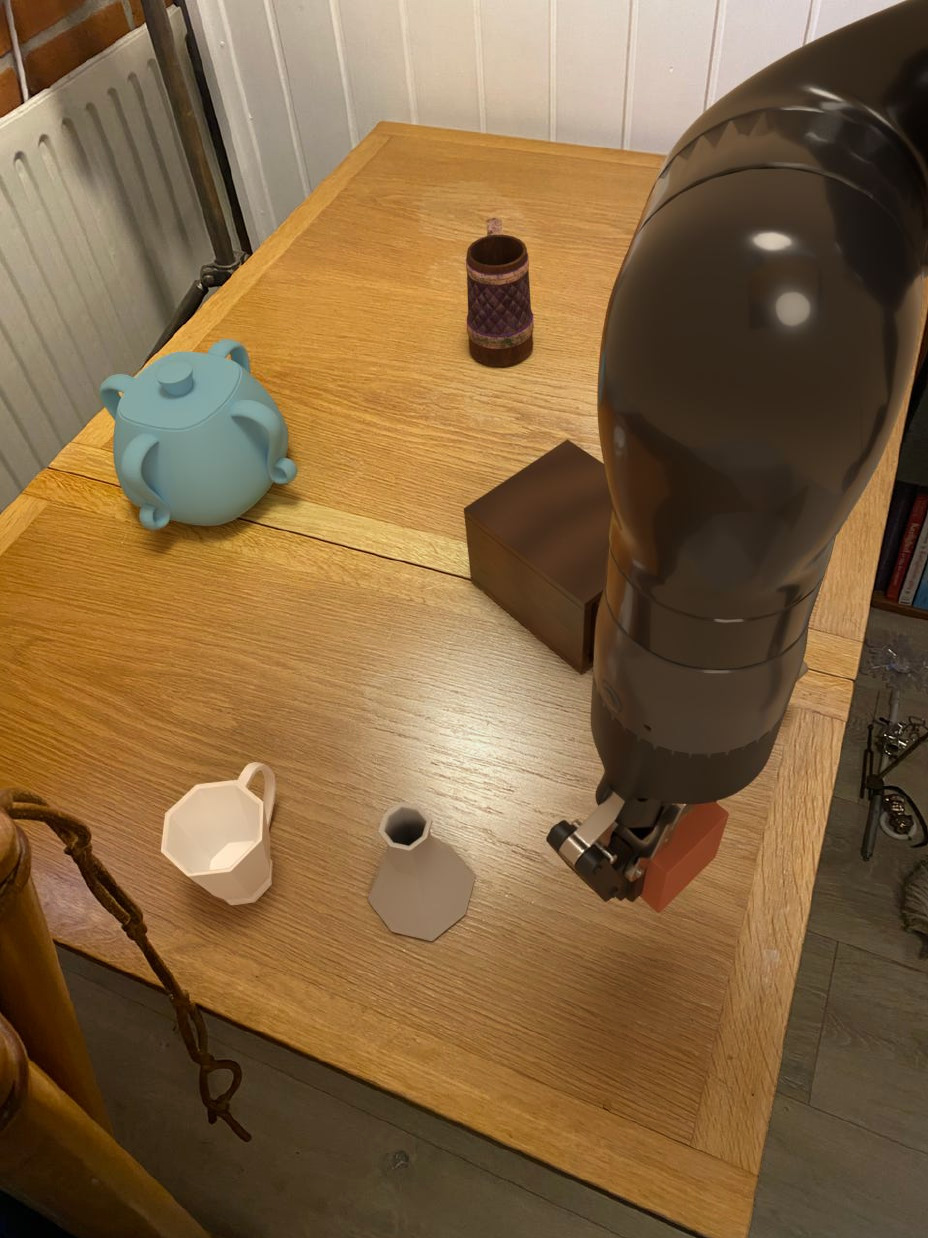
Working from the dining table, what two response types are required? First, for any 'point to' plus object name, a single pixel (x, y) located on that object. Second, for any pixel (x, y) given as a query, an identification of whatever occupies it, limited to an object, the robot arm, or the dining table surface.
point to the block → (684, 854)
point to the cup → (224, 836)
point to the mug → (498, 298)
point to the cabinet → (545, 547)
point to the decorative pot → (196, 437)
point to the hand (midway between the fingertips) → (655, 852)
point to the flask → (418, 876)
